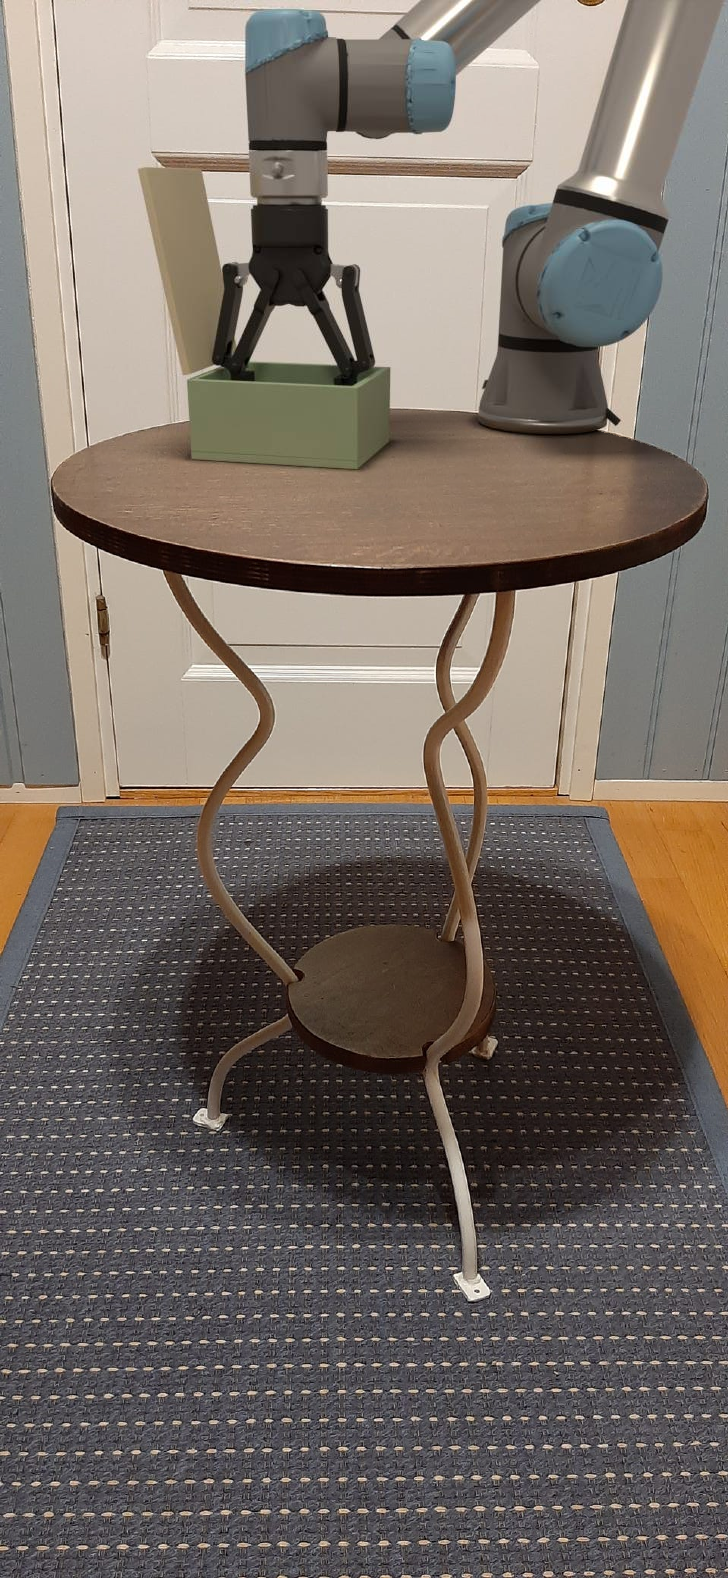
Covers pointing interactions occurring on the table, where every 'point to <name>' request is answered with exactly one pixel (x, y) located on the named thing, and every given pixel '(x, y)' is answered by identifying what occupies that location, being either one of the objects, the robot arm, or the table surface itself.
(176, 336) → the lid
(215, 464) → the table surface
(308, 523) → the table surface
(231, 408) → the chest
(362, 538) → the table surface
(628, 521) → the table surface
